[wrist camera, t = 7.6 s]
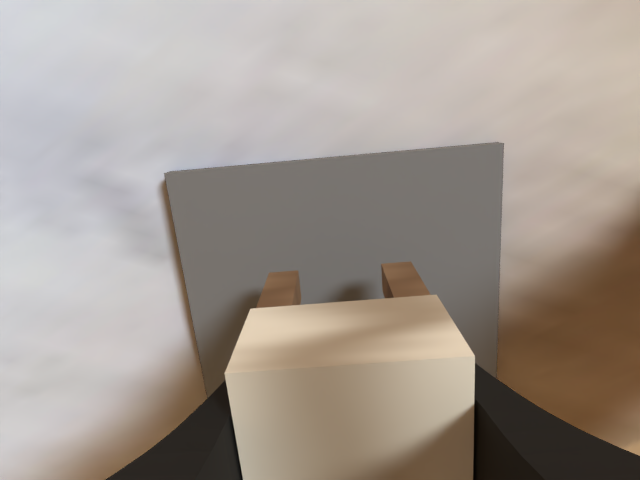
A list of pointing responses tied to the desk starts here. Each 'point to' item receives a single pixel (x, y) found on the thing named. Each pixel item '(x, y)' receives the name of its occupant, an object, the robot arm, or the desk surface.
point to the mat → (341, 237)
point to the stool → (352, 386)
